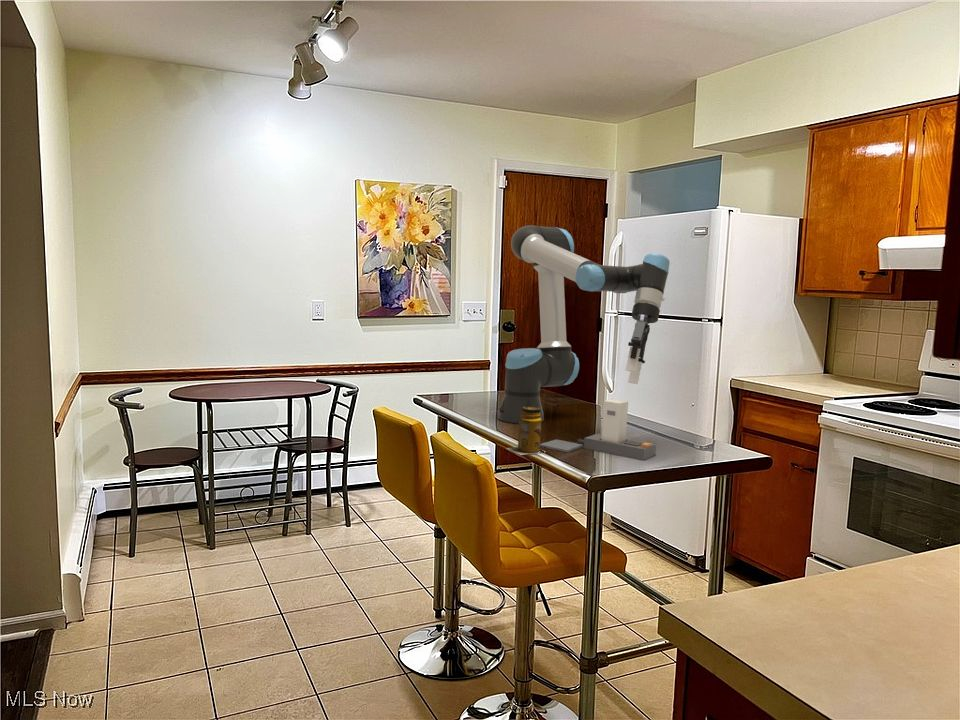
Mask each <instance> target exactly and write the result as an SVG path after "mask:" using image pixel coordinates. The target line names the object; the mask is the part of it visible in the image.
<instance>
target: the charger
mask: <svg viewBox="0 0 960 720" xmlns="http://www.w3.org/2000/svg"><path fill="white" fill-rule="evenodd" d="M628 409H629V400H628V401H627V400H621V399H614V398H610V399H607V400H603V409H602V421H601V422H602V424H601V425H602V426H601V434H602V438H601V440H602V441H608V442H613V443H618V444H619V443H622V442H624V441H626V439H627V438H626V437H627V424H628V413H629V411H628Z"/></svg>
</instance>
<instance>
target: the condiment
mask: <svg viewBox="0 0 960 720" xmlns="http://www.w3.org/2000/svg"><path fill="white" fill-rule="evenodd" d="M541 433H542V422H541V418H540V408H537V407H530V406H528V407H522V409H521V417H520V418H519V424H518V435H517V436H518V438H517V439H518V440H517V446H515V447H506V448H505V449H506V450H508V451H509V452H512V453H514V454H517V455H520V456H524V455H525V456H526V455H532V454H533V455H534V454H539V453H538V452H539V450H541V449H540V448H541V447H540V444H541V435H542V434H541ZM543 451H544V453H546V451H545V450H543Z"/></svg>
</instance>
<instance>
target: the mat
mask: <svg viewBox="0 0 960 720" xmlns="http://www.w3.org/2000/svg"><path fill="white" fill-rule="evenodd" d="M540 446H542V447H541V448H544V447H546V449H550V450H554V451H559V452H563V453H570V452H572V451H574V450H575V451H576V450H578V449H580V448H584V444H580V443H578V442H572V441H566V440H561V439H557V438H556V439H553V440H550V441H546V442H542V443H540Z"/></svg>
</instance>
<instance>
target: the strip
mask: <svg viewBox="0 0 960 720" xmlns="http://www.w3.org/2000/svg"><path fill="white" fill-rule="evenodd" d="M601 438H602V433H595V434H592V435H590V436H586V437H584V439H581V438H578V439H577V441H576V443H577V444H582V445H583V449H586V450H591V451H597V452H601V453H606V454H611V455H614V456H619V457H625V458H631V459H634V460H641V461H646V460H647V459H650V458H651V457H654V456H656V454H657V453H656V451H657V444H655V443H651V442H646V441H640V440H634V439H629V438H626V441H624V442H622V443H619V444H618V443H613V442H608V441H602V440H601Z"/></svg>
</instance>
